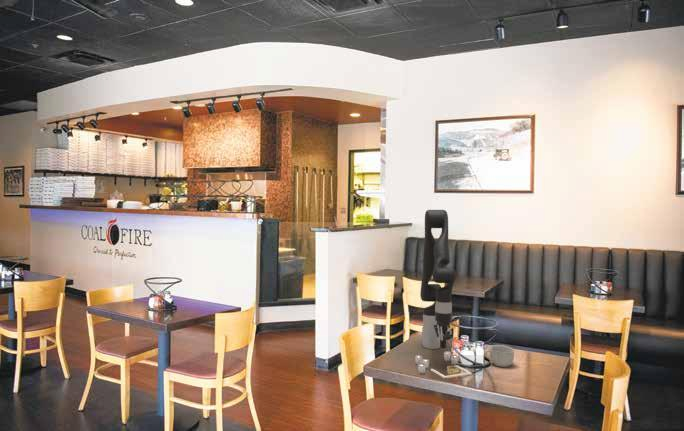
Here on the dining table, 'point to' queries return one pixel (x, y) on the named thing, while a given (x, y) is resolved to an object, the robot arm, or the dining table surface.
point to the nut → (452, 370)
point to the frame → (453, 375)
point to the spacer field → (424, 363)
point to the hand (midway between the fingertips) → (442, 347)
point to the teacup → (500, 355)
